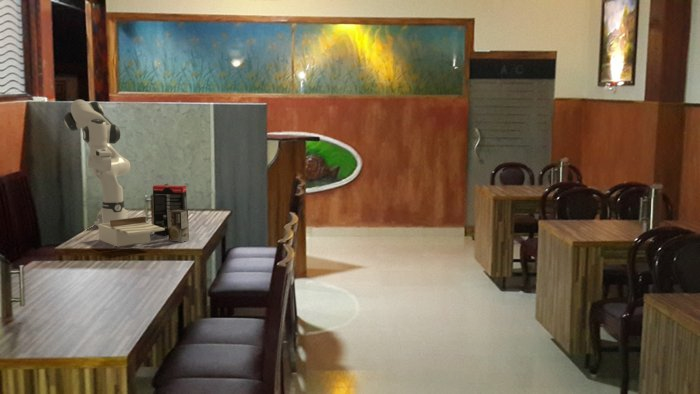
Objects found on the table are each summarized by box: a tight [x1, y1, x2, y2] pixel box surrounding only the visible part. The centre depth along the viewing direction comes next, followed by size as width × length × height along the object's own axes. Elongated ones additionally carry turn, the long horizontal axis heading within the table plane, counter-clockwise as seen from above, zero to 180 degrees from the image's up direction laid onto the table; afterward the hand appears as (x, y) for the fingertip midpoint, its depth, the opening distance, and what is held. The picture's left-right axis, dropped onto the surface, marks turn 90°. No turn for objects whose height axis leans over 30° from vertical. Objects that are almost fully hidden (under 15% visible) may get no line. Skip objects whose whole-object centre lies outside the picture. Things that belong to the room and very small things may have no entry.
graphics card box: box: [152, 184, 188, 236], centre depth 399 cm, size 17×7×27 cm, turn 84°
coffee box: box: [167, 209, 190, 243], centre depth 385 cm, size 9×6×16 cm
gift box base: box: [97, 223, 151, 247], centre depth 382 cm, size 22×18×9 cm
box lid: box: [110, 215, 165, 235], centre depth 369 cm, size 22×18×4 cm
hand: (99, 178), depth 379 cm, fingers closed
